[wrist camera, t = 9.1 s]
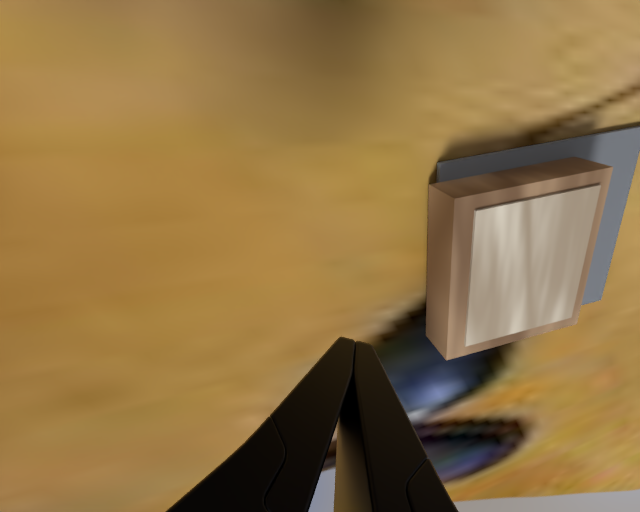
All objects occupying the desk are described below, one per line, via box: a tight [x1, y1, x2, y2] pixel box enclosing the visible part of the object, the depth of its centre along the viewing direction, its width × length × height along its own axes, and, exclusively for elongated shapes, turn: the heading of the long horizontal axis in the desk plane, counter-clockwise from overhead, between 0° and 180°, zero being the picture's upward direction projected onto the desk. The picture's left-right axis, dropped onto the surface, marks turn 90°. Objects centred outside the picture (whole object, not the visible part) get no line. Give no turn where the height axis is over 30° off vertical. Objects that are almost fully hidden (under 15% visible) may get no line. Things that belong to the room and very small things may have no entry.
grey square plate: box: [437, 126, 640, 305], centre depth 25 cm, size 13×12×1 cm
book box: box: [426, 157, 613, 360], centre depth 23 cm, size 3×10×9 cm
